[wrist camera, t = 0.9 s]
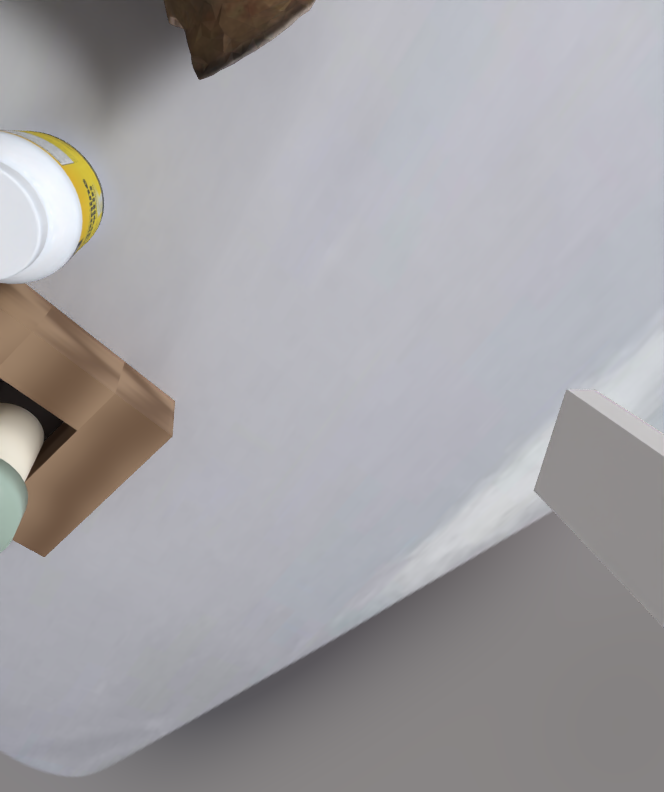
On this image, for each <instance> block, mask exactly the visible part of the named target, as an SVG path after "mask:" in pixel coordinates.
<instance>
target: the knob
mask: <svg viewBox="0 0 664 792" xmlns="http://www.w3.org/2000/svg"><path fill="white" fill-rule="evenodd" d="M43 442H44V431H43V428H42V426H41V424H40V422H39V420H38V419H37V418H36V417H35V416H34V415H33V414H32V413H30V412H29V411H28V410H26V409H24V408H22V407H20V406H17V405H14V404H9V403H0V553H1V552H2V551H3V550H4V549H5V548H6V547H7V546H8V545H9V544H10V542H11V541H12V539H13V537H14V535H15V533H16V530H17V528H18V526H19V524H20V521H21V519H22V517H23V515H24V512H25V510H26V508H27V504H28V491H27V488H26V485H25V480H26V478H27V476H28V474H29V472H30V470H31V468H32V466H33V464H34V462H35V460H36V458H37V456H38V453H39V451H40V449H41V447H42V445H43Z"/></svg>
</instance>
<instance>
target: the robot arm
mask: <svg viewBox="0 0 664 792" xmlns="http://www.w3.org/2000/svg"><path fill="white" fill-rule="evenodd" d="M534 491H535V492H536V493H537V494H538V495H539V497H540V498H541V499H542V500H543V501H544V502H545V503H546V504H547V505H548V506H549V507H550V508H551V509H552V510H553V511H554V512H555V513H556V515H557V516H558V517H559V518H560V519H561V520H562V521H563V522H564V523H565V524H566V525H567V526H568V527H569V528H570V529H571V530H572V532H574V534H575V535H576V536H577V537H578V538H579V539H580V540H581V541H582V542H583V543H584V544H585V545H586V546H587V547H588V548H589V550H590V551H592V553H593V554H594V555H595V556H596V557H597V558H598V559H599V560H600V561H601V562H602V563H603V564H604V565H605V566H606V568H607V569H608V570H609V571H610V572H611V573H612V574H613V575H614V576H615V577H616V578H617V579H618V580H619V581H620V582H621V583H622V584H623V586H624V587H625V588H626V589H627V590H628V591H629V592H630V593H631V594H632V595H633V596H634V597H635V598H636V599H637V600H638V601H639V603H640V604H641V605H643V607H644V608H645V609H646V610H647V611H648V612H649V613H650V614H651V615H652V616H653V617H654V618H655V619H656V621H657V622H658V623H659V624H660V625H661V626H662V627H663V628H664V434H663V433H662V432H660V431H659V430H657V429H656V428H654V427H652V426H651V425H649V424H648V423H646V422H645V421H643V420H642V419H640V418H638V417H637V416H635V415H634V414H632V413H631V412H629V411H628V410H626V409H625V408H623V407H621V406H620V405H618V404H617V403H615V402H614V401H612V400H611V399H609V398H607V397H606V396H604V395H603V394H601V393H600V392H598V391H597V390H593V389H566V392H565V395H564V398H563V401H562V405H561V408H560V411H559V414H558V417H557V420H556V423H555V426H554V429H553V432H552V436H551V439H550V442H549V445H548V448H547V451H546V454H545V457H544V460H543V463H542V467H541V470H540V473H539V476H538V479H537V482H536V485H535V488H534Z"/></svg>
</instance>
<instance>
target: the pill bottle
mask: <svg viewBox="0 0 664 792" xmlns="http://www.w3.org/2000/svg"><path fill="white" fill-rule="evenodd" d="M103 210H104V197H103V191H102V187H101V183H100V181H99V178H98V176H97V174H96V172H95V170H94V169H93V167H92V166H91V164H90V163H89V162H88V161H87V159H86V158H85V157H84V156H83V155H82V154H81V153H80V152H79V151H78V150H76V149H75V148H74V147H73V146H71V145H70V144H68V143H67V142H65V141H63V140H61V139H59V138H57V137H54V136H52V135H49V134H45V133H41V132H33V131H11V130H0V283H6V284H23V283H29V282H34V281H38V280H40V279H43V278H45V277H47V276H49V275H51V274H53V273H54V272H56V271H58V270H59V269H60V268H61V267H63V266H64V265H65V264H66V263H67V262H68V261H69V260H70V259H71V257H72V256H73V255H74V254H75V253H76V252H77V251H78V250H79V249H80V248H81V247H82V246H83V245H84V244H86V243H87V242H88V241H89V240H90V238H91V237H92V236H93V235H94V233H95V232H96V230H97V229H98V227H99V225H100V222H101V219H102V216H103Z"/></svg>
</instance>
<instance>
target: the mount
mask: <svg viewBox="0 0 664 792" xmlns="http://www.w3.org/2000/svg"><path fill="white" fill-rule="evenodd" d="M0 378H1V379H2V380H4V381H5V382H7V383H8V384H10V385H11V386H13V387H14V388H15V389H17V390H18V391H20V392H21V393H23V394H24V395H26V396H27V397H29V398H30V399H32V400H33V401H35V402H36V403H37V404H39V405H40V406H42V407H43V408H45V409H46V410H48V411H49V412H51V413H52V414H54V415H55V416H57V417H58V418H59V419H61V420H62V421H64V422H63V423H62V424H61V425H60V426H59V427H58V428H57V429H56V430H55V431H54V432H53V433H52V434H51V435H50V436H49V437H48V438H47V439H46V440H45V441H44V442H43V445H42V447H41V449H40V451H39V453H38V456H37V458H36V460H35V462H34V464H33V466H32V468H31V470H30V472H29V474H28V476H27V478H26V480H25V485H26V488H27V491H28V504H27V508H26V510H25V512H24V515H23V517H22V519H21V521H20V524H19V526H18V528H17V530H16V533H15V535H14V537H13V539H12V540H14V541H15V542H17V543H19V544H21V545H23V546H25V547H26V548H28V549H30V550H32V551H34V552H36V553H38V554H39V555H41V556H43V557H45V556H46V555H47V554H48V553H49V552H50V551H52V550H53V549H54V548H55V547H56V546H57V545H58V544H59V543H60V542H61V541H62V540H63V539H64V538H65V537H66V536H67V535H68V534H70V533H71V532H72V531H73V530H74V529H75V528H76V527H77V526H78V525H79V524H80V523H81V522H82V521H83V520H84V519H85V518H86V517H87V516H89V515H90V514H91V513H92V512H93V511H94V510H95V509H96V508H97V507H98V506H99V505H100V504H101V503H102V502H103V501H104V500H105V499H107V498H108V497H109V496H110V495H111V494H112V493H113V492H114V491H115V490H116V489H117V488H118V487H119V486H120V485H121V484H122V483H123V482H125V481H126V480H127V479H128V478H129V477H130V476H131V475H132V474H133V473H134V472H135V471H136V470H137V469H138V468H139V467H140V466H141V465H143V464H144V463H145V462H146V461H147V460H148V459H149V458H150V457H151V456H152V455H153V454H154V453H155V452H156V451H157V450H158V449H159V448H160V447H162V446H163V445H164V444H165V443H166V442H167V441H168V440H169V439H170V438H171V437H172V435H173V421H174V407H175V401H174V400H173V399H171V398H170V397H169V396H168V395H166V394H165V393H164V392H163V391H161V390H160V389H159V388H157V387H156V386H155V385H154V384H152V383H151V382H150V381H149V380H147V379H146V378H145V377H143V376H142V375H141V374H140V373H138V372H137V371H136V370H135V369H133V368H132V367H131V366H129V365H128V364H127V363H126V362H124V361H123V360H122V359H121V358H119V357H118V356H117V355H115V354H114V353H113V352H112V351H110V350H109V349H108V348H107V347H105V346H104V345H103V344H101V343H100V342H99V341H98V340H96V339H95V338H94V337H93V336H91V335H90V334H89V333H87V332H86V331H85V330H84V329H82V328H81V327H80V326H79V325H77V324H76V323H75V322H73V321H72V320H71V319H70V318H68V317H67V316H66V315H65V314H63V313H62V312H61V311H59V310H58V309H57V308H56V307H54V306H53V305H52V304H51V303H49V302H48V301H47V300H45V299H44V298H43V297H42V296H40V295H39V294H38V293H37V292H35V291H34V290H33V289H31V288H30V287H29V286H28V285H26V284H25V283H23V284H6V283H0Z"/></svg>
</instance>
